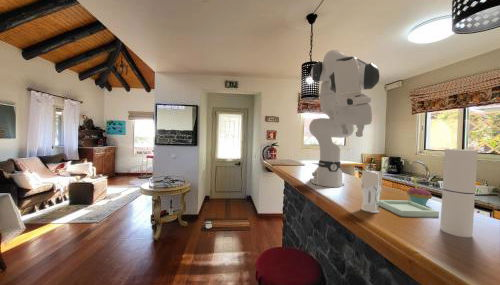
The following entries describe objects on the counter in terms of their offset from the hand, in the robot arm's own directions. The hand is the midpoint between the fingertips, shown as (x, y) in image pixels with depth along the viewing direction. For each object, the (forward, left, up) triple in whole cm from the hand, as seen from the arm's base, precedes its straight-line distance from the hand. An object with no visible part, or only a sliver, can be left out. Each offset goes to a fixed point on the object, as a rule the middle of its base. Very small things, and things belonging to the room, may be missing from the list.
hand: (352, 135), depth 88 cm
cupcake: (-6, +35, -29) cm, 46 cm away
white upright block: (+4, +7, -29) cm, 30 cm away
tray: (+3, +22, -29) cm, 36 cm away
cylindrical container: (+23, +22, -29) cm, 43 cm away
